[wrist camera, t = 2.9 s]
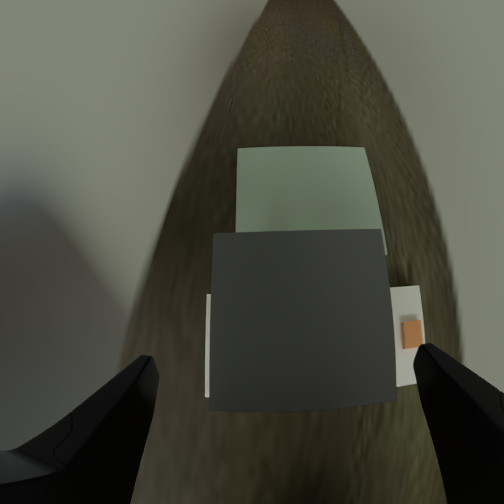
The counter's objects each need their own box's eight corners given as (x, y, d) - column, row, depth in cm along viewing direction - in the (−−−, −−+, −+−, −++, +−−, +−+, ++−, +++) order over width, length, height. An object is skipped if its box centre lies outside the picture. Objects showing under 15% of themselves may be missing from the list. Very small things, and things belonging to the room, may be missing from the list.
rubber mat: (385, 256, 19) (387, 253, 18) (236, 261, 20) (235, 258, 19) (362, 151, 22) (364, 147, 22) (238, 152, 23) (237, 148, 22)
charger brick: (323, 378, 15) (396, 400, 5) (249, 381, 15) (209, 410, 6) (320, 308, 17) (380, 228, 7) (249, 310, 17) (212, 233, 7)
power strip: (416, 380, 16) (434, 381, 13) (210, 394, 17) (200, 399, 14) (409, 291, 18) (426, 280, 16) (212, 299, 19) (203, 290, 16)
